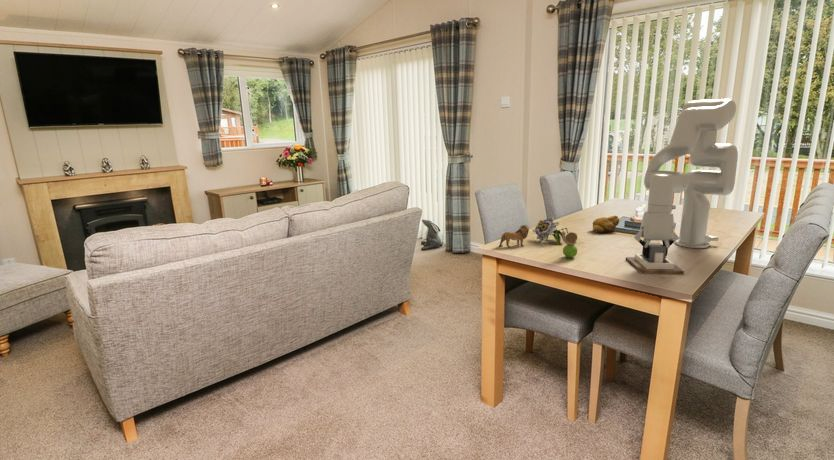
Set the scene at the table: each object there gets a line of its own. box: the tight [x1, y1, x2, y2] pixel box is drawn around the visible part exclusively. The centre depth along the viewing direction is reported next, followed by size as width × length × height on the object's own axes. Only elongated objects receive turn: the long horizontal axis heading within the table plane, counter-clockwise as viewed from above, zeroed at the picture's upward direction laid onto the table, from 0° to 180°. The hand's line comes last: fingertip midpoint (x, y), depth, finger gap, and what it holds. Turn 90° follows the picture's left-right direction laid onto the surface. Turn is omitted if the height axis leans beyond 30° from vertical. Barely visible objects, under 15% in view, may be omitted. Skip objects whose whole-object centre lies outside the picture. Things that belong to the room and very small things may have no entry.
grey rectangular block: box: [644, 242, 667, 263], centre depth 159 cm, size 5×7×7 cm
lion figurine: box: [498, 224, 530, 249], centre depth 191 cm, size 15×5×9 cm, turn 110°
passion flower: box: [532, 216, 569, 245], centre depth 197 cm, size 13×12×14 cm
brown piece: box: [625, 253, 685, 275], centre depth 161 cm, size 14×16×3 cm
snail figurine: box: [561, 228, 578, 259], centre depth 173 cm, size 5×6×12 cm
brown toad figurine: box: [592, 215, 620, 234], centre depth 212 cm, size 13×10×8 cm
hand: (654, 256), depth 160 cm, fingers open, 5 cm apart
